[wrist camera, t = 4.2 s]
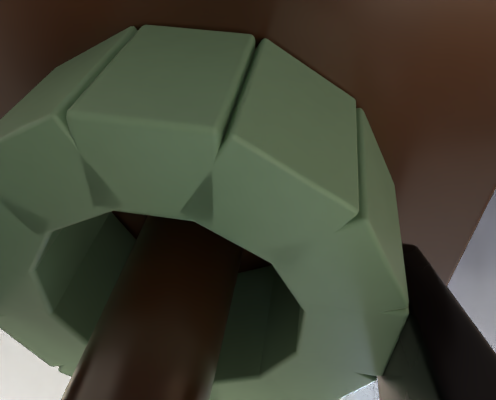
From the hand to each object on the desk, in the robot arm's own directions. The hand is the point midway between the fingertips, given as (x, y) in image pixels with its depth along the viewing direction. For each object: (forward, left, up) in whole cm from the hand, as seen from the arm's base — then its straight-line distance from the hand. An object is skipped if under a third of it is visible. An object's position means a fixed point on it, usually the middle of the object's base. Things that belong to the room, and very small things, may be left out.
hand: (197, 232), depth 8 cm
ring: (0, 0, -1) cm, 1 cm away
